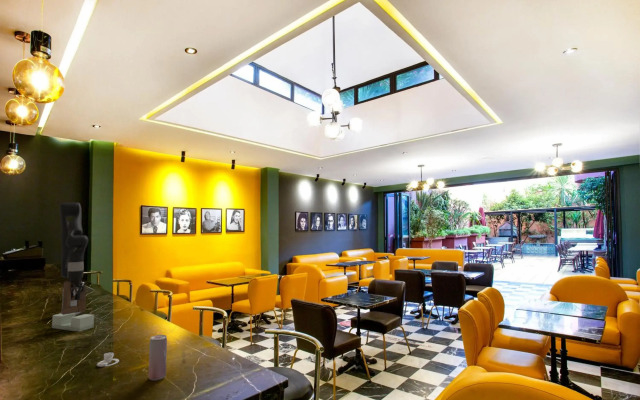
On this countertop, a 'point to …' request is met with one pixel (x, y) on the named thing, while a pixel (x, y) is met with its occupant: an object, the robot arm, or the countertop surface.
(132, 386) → the countertop surface
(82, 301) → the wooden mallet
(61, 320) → the slotted beam
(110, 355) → the teacup and saucer
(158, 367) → the beverage can
